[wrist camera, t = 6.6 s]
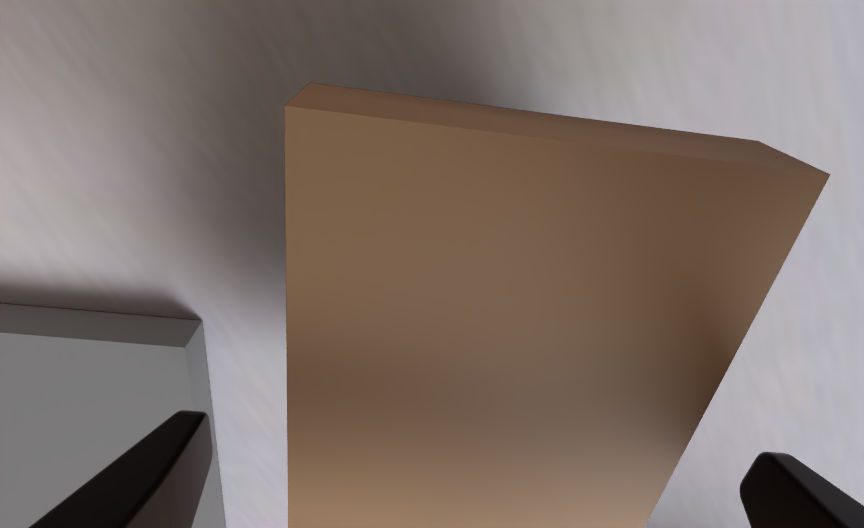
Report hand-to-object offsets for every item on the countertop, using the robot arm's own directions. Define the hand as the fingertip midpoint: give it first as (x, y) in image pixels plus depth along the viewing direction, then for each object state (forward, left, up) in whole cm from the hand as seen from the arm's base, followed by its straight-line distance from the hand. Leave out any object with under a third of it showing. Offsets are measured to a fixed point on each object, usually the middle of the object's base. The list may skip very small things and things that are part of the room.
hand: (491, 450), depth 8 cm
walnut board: (0, 0, -2) cm, 2 cm away
